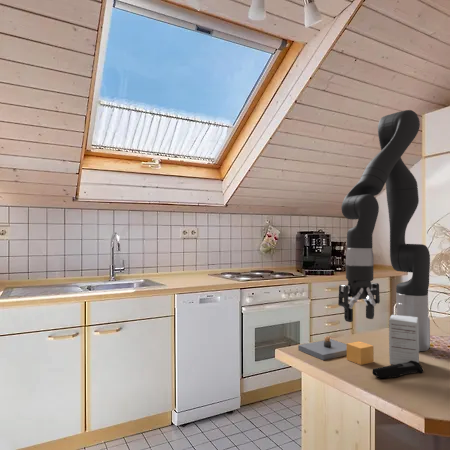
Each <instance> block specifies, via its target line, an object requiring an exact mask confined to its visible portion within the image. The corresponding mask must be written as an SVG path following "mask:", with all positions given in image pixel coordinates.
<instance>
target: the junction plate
mask: <svg viewBox="0 0 450 450" xmlns="http://www.w3.org/2000/svg"><path fill="white" fill-rule="evenodd" d="M297 347H298V349H297V350H298V351H300V352H302V353H305V354H307V355H310V356H312V357H315V358H317V359H320V360H321V361H325V360H330V359H335V358H340V357H346V356H347V343H344V342H341V341H338V340H335V339H333V338H331V336H328V335H327V336H324V340H319V341H313V342H308V343H303V344H299V345H298V346H297Z"/></svg>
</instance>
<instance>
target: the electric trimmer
mask: <svg viewBox="0 0 450 450" xmlns="http://www.w3.org/2000/svg"><path fill="white" fill-rule="evenodd" d="M371 372H372V375H373V376H375V377H377V378H379V379H385V378H386V379H387V378H388V379H389V378H399V377H401V376H403V375H408V374H414V373H419V374H423V373H424V372H425V371H424V368H423V366H422V365H421V364H420V362H419V363H418V362H416V361H409V362H407V363H402V364H396V365H394V364H390V365H386V366H382V367H376V368H372V371H371Z"/></svg>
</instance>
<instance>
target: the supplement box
mask: <svg viewBox="0 0 450 450" xmlns="http://www.w3.org/2000/svg"><path fill="white" fill-rule="evenodd" d="M388 331H389V332H388V337H389V338H388V342H389V343H388V346H389V348H388V349H389V352H388V353H389V357H388V359H389V364H390V365H396V364H402V363H407V362H409V361H416V362H418V363H419V364H420V351H419V331H418V317H411V316H400V315H397V314H391V315H390V317H389V319H388Z"/></svg>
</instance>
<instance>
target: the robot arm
mask: <svg viewBox="0 0 450 450" xmlns="http://www.w3.org/2000/svg"><path fill="white" fill-rule="evenodd" d="M420 126H421V122H420V118H419V115H418V114H417V113H416V112H415V111H413V110H411V109H406V110H401V111H398V112H394V113H391V114H387V115H384V116H382V117H381V118H380V119H379V121H378V124H377V134H378V135H377V136H378V140H379V141H378V142H379V147H380V150H381V151H379V152H378V153H377V154H376V155H375V156H374V157H373V158H372V159H371V160H370V161H369V162H368V163H367V165H366V166H365V169H364V171H363V172H362V175H361V176H360V178H359V180H358V182H357V183H356V184H355V185H354V186H353V187H351V189H350V191H349V192H348V193H347V194H346V195H345V196H344V199H343V200H342V204H341V213H342V215H343V216H344V218H345V219H348V220H352V221H354V220H357V222H356V225H355V226H354V227H351V228H349V229H348V230H347V233H346V253H345V279H346V280H347V284H339V286H338V303H337V304H338V306H339V307H343V311H344V312H343V313H344V314H343V315H344V318H343V319H344V320H345V321H344V322H348V323H353V321H354V313H353V312H354V310H353V309H354V308H353V307H354V305H355V303H357V302H358V301H359V300H363V301H364V303H365V304H366V305H365V318H366V319H369V320H374V319H375V317H374V316H375V306H376V305H377V304H380V302H381V299H380V297H381V296H380V283H378V282H373V281H374V253H373V252H374V251H373V234H374V230H375V228H376V227H375V226H376V224H377V223H376V222H377V221H378V220H377V219H378V216H379V211H380V207H379V202H378V199H377V198H376V197H375V196H377V195H379V194H381V192H382V191H383V188H384V187H385V190H386V191H385V193H386V203H387V210H388V211H387V212H388V221H389V223H388V224H389V258H390V265H391V267H392V269H393V270H395V271H397V272H399V273H400V272H402V273H412V277H411V278H410V279H409V280H407V281H404V282H399V283H397V284H396V286H395V289H396V290H395V291H396V292H395V295H396V296H395V297H396V298H395V300H396V310H395V311H396V315H400V316H411V317H418V331H419V352H425V351H429V348H431V318H430V317H429V287H430V267H431V254H430V251H429V248H428V247H427V246H426V245H425V244H423V243H420V244H419V243H406V231H407V227H408V224H409V223H410V221H411V219H412V217H413V216H414V215H415V212H416V210H417V209H418V206H419V201H420V200H419V199H420V198H419V189H418V182H417V179H416V177H415V176H414V174H413V173H412V171H411V170H410V169H409V168H408V166H407V165H406V164H405V162H404V161H403V159H402V156H403V155H404V154H405V152H406V150H407V149H408V148H409V147H410V145H411V144H412V142H413V141H414V140H415V138H416V137H417V135H418V133H419V131H420Z"/></svg>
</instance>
